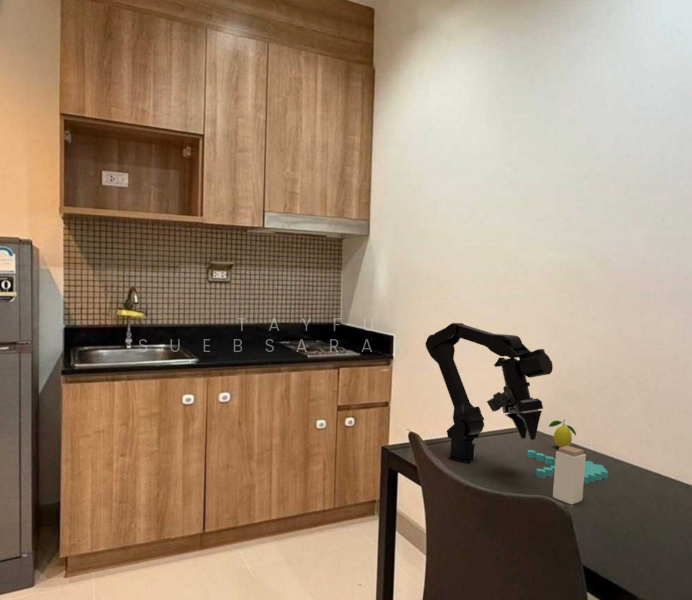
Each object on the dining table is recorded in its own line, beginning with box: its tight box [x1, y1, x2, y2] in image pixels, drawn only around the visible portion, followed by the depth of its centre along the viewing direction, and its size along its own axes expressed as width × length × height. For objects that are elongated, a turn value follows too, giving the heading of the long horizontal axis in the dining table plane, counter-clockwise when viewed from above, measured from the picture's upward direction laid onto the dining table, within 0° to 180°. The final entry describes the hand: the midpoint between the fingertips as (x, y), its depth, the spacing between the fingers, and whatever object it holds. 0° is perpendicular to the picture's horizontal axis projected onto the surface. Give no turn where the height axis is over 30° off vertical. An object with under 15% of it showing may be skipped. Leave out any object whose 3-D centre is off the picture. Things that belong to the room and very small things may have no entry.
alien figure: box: [526, 449, 609, 485], centre depth 154 cm, size 20×2×20 cm
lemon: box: [548, 418, 577, 448], centre depth 175 cm, size 7×6×10 cm
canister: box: [552, 445, 587, 505], centre depth 131 cm, size 5×5×12 cm
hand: (528, 439), depth 141 cm, fingers open, 9 cm apart
